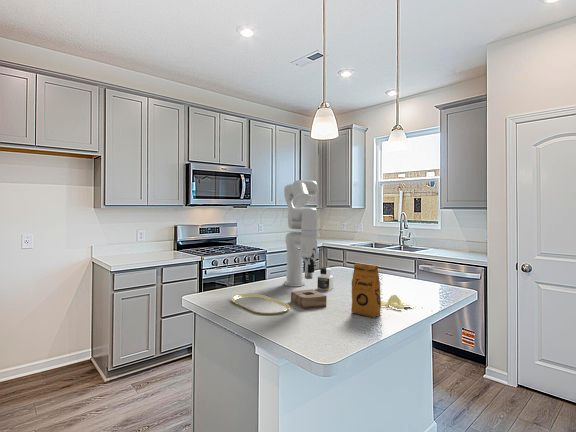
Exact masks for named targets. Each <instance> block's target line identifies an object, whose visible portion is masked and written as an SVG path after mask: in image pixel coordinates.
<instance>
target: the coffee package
mask: <svg viewBox="0 0 576 432" xmlns="http://www.w3.org/2000/svg"><path fill="white" fill-rule="evenodd" d="M353 267H354V268H353V271H352V278H351V279H352V280H351V313H352V314H353V313H354V314H357V315H360V314H361V316H365V317H369V318H370V317H371V318H373V317H376V316H377V317H378V315H379V316H381V309H382V308H381V301H382V300H381V282H380V275H379V273H380V272H379V269H378V265H370V264H363V263H354V265H353ZM377 317H376V318H377Z"/></svg>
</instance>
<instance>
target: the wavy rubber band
mask: <svg viewBox="0 0 576 432" xmlns="http://www.w3.org/2000/svg"><path fill="white" fill-rule="evenodd" d="M248 297H249V298H250V297H251V298H253V297H254V298H260V299H265V300H267V301H269V302H273V303H274V304H277V305H280V306H282V307H285V308H286V309H285V310H281V311H276V312H274V311H273V312H265V311H263V312H262V311H257V310H253V309H251V308H249V307H246V306H244V305H242V304H241V303H238V302H236V300H238V299H242V298H248ZM231 302H232V303H233V304H234V305H237V306H239V307H241V308H244V309H245V310H248V311H250V312H252V313H255V314H257V313H258V315H265V316H266V315H267V316H269V315H270V316H271V315H272V316H273V315H280V314H284V313H286V312H288V311H289V310H290V308H291V306H290V304H288V303H286V302H284V301H281V300H278V299H275V298H272V297H270V296H267V295H264V294H259V293H245V294H238V295H235V296H233V297H231Z"/></svg>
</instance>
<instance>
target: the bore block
mask: <svg viewBox="0 0 576 432" xmlns="http://www.w3.org/2000/svg"><path fill="white" fill-rule="evenodd" d="M290 302H291V303H292V304H294V305H296V306H298V307H299V308H301V309H303V310H309V309H318V308H324V307H327V295H325V294H323V293H321V292H319V291H318V290H317V291H316V290H314V289H313V288H311V289H300V290H291V291H290Z"/></svg>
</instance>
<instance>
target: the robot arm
mask: <svg viewBox="0 0 576 432" xmlns="http://www.w3.org/2000/svg"><path fill="white" fill-rule="evenodd" d="M318 192H319V187H318V183H317V182H316V181H315V180H309V179H308V180H307V179H304V180H302V179H299V180H295V181H294V182H292V183H291V184H287V185H285V186H284V188H283V193H284V199H285V203H286V206H287V225H288V228H289V229H290V230H298V231H291V232H290V231H289V232H288V233H286V235H285V244H286V245H285V246H286V278H285V279H286V280H284V282H283V284H284V285H285V286H287V287H302V286H305V285H306V282H305V281H303V272H305V258H308V262H309V264H308V273H312V274H313V273H314V272H315V264H316V261H317V260H318V239H317V237H318V217H319V216H318V215H319V214H318V210H317V208H314V207H305V206H307V205H308V204H310V201H311V199H313V198H314V197H316V196H317V194H318ZM300 230H301V231H300ZM310 257H312V258H310ZM310 259H311V260H310Z"/></svg>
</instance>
